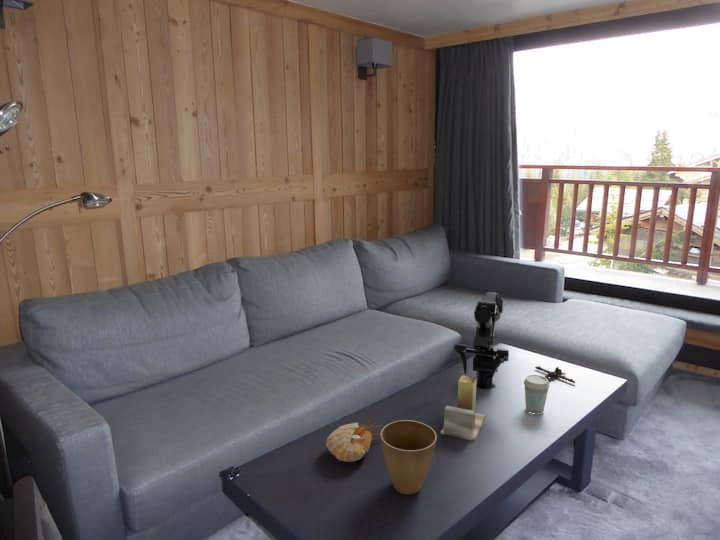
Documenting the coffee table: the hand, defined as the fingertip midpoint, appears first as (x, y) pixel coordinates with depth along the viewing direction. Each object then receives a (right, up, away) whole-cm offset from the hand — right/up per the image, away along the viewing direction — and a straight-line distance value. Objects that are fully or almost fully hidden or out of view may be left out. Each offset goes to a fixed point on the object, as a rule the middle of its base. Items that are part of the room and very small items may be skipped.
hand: (478, 375), depth 181 cm
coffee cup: (+20, -13, +2) cm, 24 cm away
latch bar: (-5, -13, -5) cm, 15 cm away
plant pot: (-28, -23, -39) cm, 53 cm away
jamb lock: (-7, -15, -8) cm, 18 cm away
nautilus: (-42, -19, -22) cm, 51 cm away
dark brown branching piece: (+35, -7, +27) cm, 45 cm away
